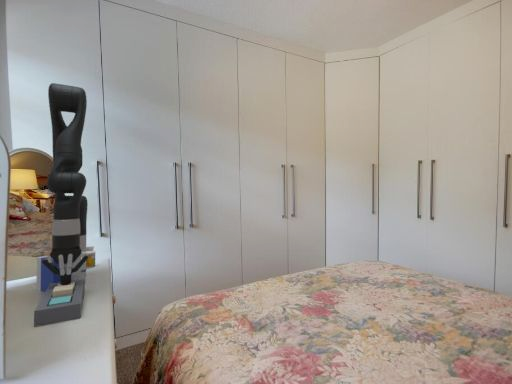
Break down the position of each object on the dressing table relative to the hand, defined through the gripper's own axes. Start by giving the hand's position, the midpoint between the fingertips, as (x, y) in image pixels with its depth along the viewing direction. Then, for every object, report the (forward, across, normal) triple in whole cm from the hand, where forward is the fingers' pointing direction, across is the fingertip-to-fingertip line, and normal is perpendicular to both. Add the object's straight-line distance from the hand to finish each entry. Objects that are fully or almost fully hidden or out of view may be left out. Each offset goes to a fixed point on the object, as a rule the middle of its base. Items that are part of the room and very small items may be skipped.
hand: (65, 285), depth 88 cm
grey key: (+4, 0, 0) cm, 4 cm away
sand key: (+2, 0, +7) cm, 7 cm away
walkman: (+4, +6, -11) cm, 13 cm away
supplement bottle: (+4, -5, -39) cm, 40 cm away
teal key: (+4, 0, +14) cm, 14 cm away
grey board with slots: (+4, 0, +7) cm, 8 cm away
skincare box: (+4, -2, -13) cm, 14 cm away
